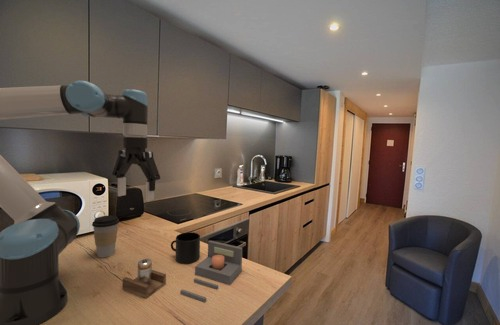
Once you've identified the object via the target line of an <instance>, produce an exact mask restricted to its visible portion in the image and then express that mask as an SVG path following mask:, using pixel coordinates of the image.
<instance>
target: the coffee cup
mask: <svg viewBox="0 0 500 325" xmlns="http://www.w3.org/2000/svg"><path fill="white" fill-rule="evenodd" d="M119 223H120V219H119V218H118V216H116V215H111V214H110V215H101V216H98V217H96V218H94V220H93V222H92V224H91V225H92V227H93V237H94V245H95V248H96V254H97V257H98V258H108V257H109V258H110V257H112V256H113V255H114V254H115V251H116V242H117V236H118V229H119V227H118V224H119Z"/></svg>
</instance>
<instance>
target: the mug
mask: <svg viewBox="0 0 500 325" xmlns="http://www.w3.org/2000/svg"><path fill="white" fill-rule="evenodd" d="M174 244H175V247H174ZM170 248H171V250H172V251H173V252H175V261H176V262H177V263H179V264H193V263H195V262H197V261H199V259H200V256H201V254H200V253H201V236H200V234H199V233H197V232H192V231H191V232H190V231H189V232H182V233H179V234H178V235H176V236H175V239H174V240H173V241H171V243H170Z"/></svg>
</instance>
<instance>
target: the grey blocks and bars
mask: <svg viewBox="0 0 500 325" xmlns="http://www.w3.org/2000/svg"><path fill="white" fill-rule="evenodd" d="M214 255H223V256H224V268H223V269H222V270H221V271H220V270H216V269H213V268H212V257H213V256H214ZM242 268H243V247H240V246H236V245H233V244H227V243H223V242H219V241H214V240H208V241H207V256H206V258H204V259H202V260H201V261H200V262H199V263H197V264H196V265H195V266H194V275H196V276H199V277H203V278H206V279H209V280H212V281H215V282H219V283H222V284H225V285H228V286H231V285H232V283H233V282H234V281H235V279H236V278H237V277H238V276H239V275H240V274H241V273H242V272H243V271H242V270H243V269H242ZM193 283H196V284H198V285H202V286H204V287H205V286H206V287H207V288H210V289H214V290H218V289H219V285H218V284H216V283H212V282H210V281H208V280H207V281H206V280H202V279H199V278H196V277H195V278H194V279H193ZM179 291H180V293H179V294H180V295H183V296H186V297H189V298H191V299H194V300H197V301H200V302H202V303H206V302H207V296H204V295H201V294H197V293H195V292H191V291H189V290H185V289H183V288H181V290H179Z"/></svg>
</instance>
